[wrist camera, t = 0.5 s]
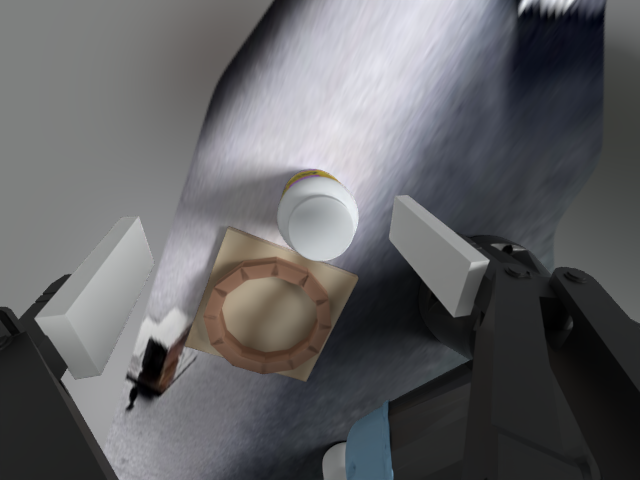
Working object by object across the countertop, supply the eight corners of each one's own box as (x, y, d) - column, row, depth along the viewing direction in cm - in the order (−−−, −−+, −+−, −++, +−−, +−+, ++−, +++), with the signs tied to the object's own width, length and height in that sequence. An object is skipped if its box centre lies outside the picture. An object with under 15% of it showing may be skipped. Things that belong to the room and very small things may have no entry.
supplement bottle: (316, 155, 31) (330, 160, 19) (353, 202, 33) (388, 235, 21) (269, 195, 32) (253, 225, 20) (308, 239, 34) (315, 291, 22)
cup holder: (356, 275, 36) (362, 286, 33) (305, 376, 40) (306, 393, 37) (229, 226, 33) (222, 233, 30) (187, 340, 37) (178, 357, 34)
